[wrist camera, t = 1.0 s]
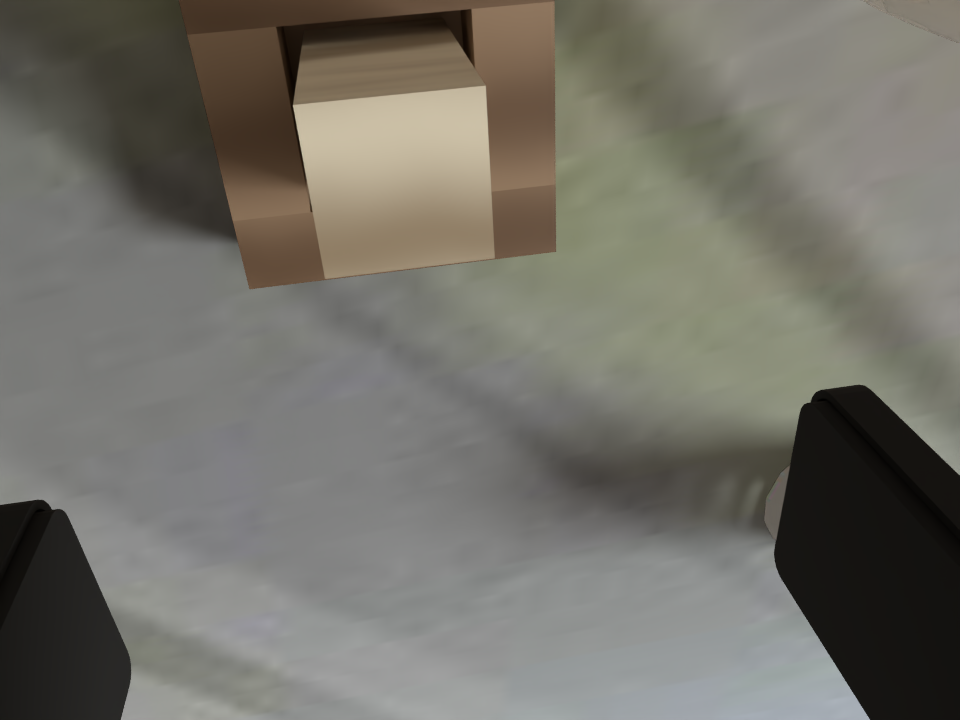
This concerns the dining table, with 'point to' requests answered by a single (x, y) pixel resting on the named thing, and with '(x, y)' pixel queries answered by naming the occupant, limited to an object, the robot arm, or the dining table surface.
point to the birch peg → (394, 147)
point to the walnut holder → (274, 136)
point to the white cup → (925, 15)
